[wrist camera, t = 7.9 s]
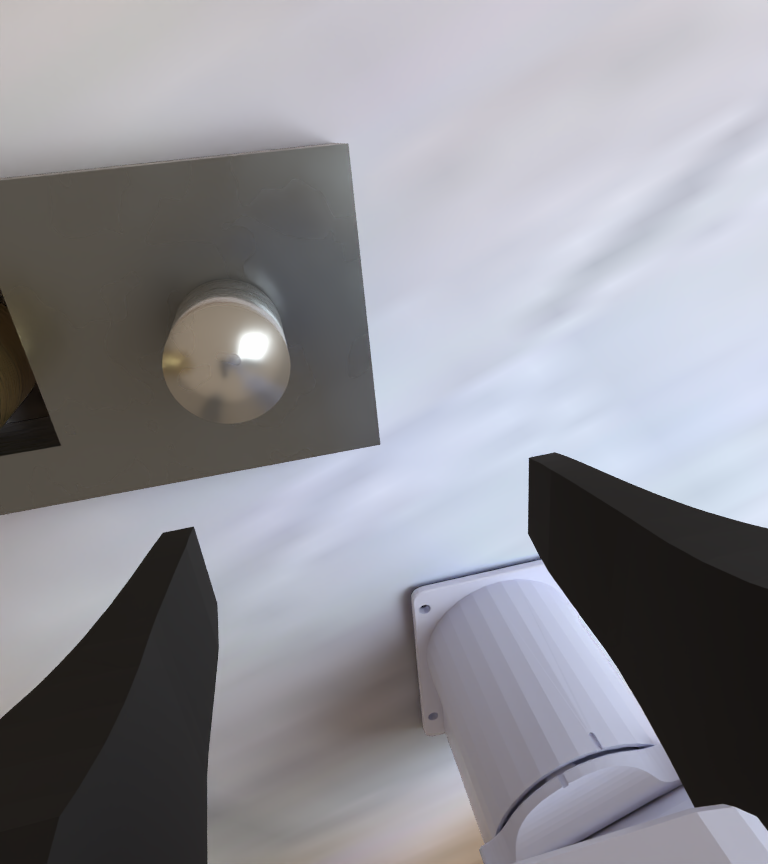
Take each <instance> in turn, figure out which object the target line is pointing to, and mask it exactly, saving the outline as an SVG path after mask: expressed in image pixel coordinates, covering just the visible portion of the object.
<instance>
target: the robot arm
mask: <svg viewBox="0 0 768 864" xmlns="http://www.w3.org/2000/svg"><path fill="white" fill-rule="evenodd" d="M528 534H529V536H530V538H531V540H532V542H533V544H534V546H535V548H536V550H537V552H538V554H539V556H540V558H541V560H537V561H533V562H528V563H524V564H519V565H515V566H510V567H506V568H502V569H497V570H493V571H488V572H484V573H479V574H475V575H471V576H466V577H462V578H457V579H453V580H448V581H444V582H439V583H435V584H431V585H426V586H422V587H419V588H417V589H415V590H414V591H413V593H412V594H411V604H412V615H413V626H414V637H415V648H416V658H417V669H418V680H419V691H420V702H421V713H422V724H423V729H424V732H425V734H426V735H428V736H435V735H439V734H443V733H446V735H447V738H448V741H449V744H450V747H451V750H452V752H453V755H454V758H455V761H456V764H457V767H458V770H459V772H460V775H461V778H462V781H463V784H464V787H465V790H466V792H467V795H468V798H469V801H470V804H471V807H472V810H473V812H474V815H475V818H476V821H477V824H478V827H479V830H480V833H481V835H482V838H483V841H484V843H485V844H484V845H483V846H481V847H480V849H479V851H480V854H481V857H482V860H483V863H484V864H768V528H763V527H759V526H755V525H751V524H747V523H743V522H740V521H736V520H733V519H729V518H726V517H722V516H719V515H715V514H712V513H709V512H705V511H702V510H699V509H696V508H693V507H690V506H687V505H684V504H682V503H679V502H676V501H673V500H671V499H668V498H665V497H662V496H660V495H657V494H655V493H652V492H650V491H647V490H645V489H642V488H640V487H637V486H635V485H632V484H630V483H628V482H625V481H623V480H621V479H618V478H616V477H614V476H611V475H609V474H607V473H604V472H602V471H600V470H597V469H595V468H593V467H591V466H588V465H586V464H584V463H581V462H579V461H577V460H574V459H572V458H569V457H567V456H564V455H561V454H558V453H550V454H545V455H540V456H535V457H531V458H529V502H528ZM423 605H427V606H426V607H423V608H420V607H421V606H423ZM579 615H580V616H581V617H582V619H583V620H584V621H585V623H586V624H587V625H588V627H589V628H590V629H591V631H592V632H593V634H594V635H595V636H596V638H597V639H598V640H599V642H600V643H601V644H602V646H603V647H604V648H605V650H606V651H607V653H608V654H609V656H610V657H611V659H612V660H613V662H614V663H615V665H616V666H617V668H618V669H619V671H620V673H621V674H622V676H623V678H624V679H625V681H626V683H627V685H628V686H629V688H630V689H629V688H628V686H627V685H626V683H625V682H624V681H623V679H622V678H621V676H620V675H619V674H618V672H617V671H616V669H615V668H614V667H613V665H612V664H611V662H610V661H609V660H608V658H607V657H606V655H605V654H604V653H603V651H602V650H601V648H600V647H599V646H598V644H597V643H596V641H595V640H594V639H593V637H592V636H591V634H590V633H589V632H588V630H587V629H586V627H585V626H584V625H583V623H582V622H581V620H580V619H579ZM218 650H219V643H218V612H217V601H216V598H215V595H214V592H213V588H212V585H211V582H210V578H209V575H208V572H207V569H206V565H205V562H204V559H203V555H202V552H201V549H200V545H199V542H198V539H197V536H196V532H195V529H194V527H189V528H185V529H180V530H175V531H170V532H165V533H162V535H161V536H160V538H159V539H158V540H157V542H156V543H155V544H154V546H153V547H152V548H151V550H150V551H149V553H148V554H147V555H146V557H145V558H144V560H143V561H142V563H141V564H140V565H139V567H138V568H137V570H136V571H135V572H134V574H133V575H132V577H131V578H130V579H129V581H128V582H127V584H126V585H125V586H124V588H123V589H122V590H121V592H120V593H119V594H118V596H117V597H116V598H115V600H114V601H113V602H112V604H111V605H110V606H109V607H108V609H107V610H106V611H105V612H104V613H103V615H102V616H101V617H100V618H99V620H98V621H97V622H96V623H95V624H94V626H93V627H92V628H91V629H90V630H89V632H88V633H87V634H86V635H85V636H84V638H83V639H82V640H81V641H80V642H79V643H78V644H77V646H76V647H75V648H74V649H73V650H72V651H71V652H70V653H69V654H68V655H67V656H66V657H65V658H64V660H63V661H62V662H61V663H60V664H59V665H58V666H57V667H56V668H55V669H54V670H53V671H52V672H51V673H50V674H49V675H48V676H47V677H46V678H45V679H44V680H43V681H42V682H41V683H40V684H39V685H38V686H37V687H35V688H34V689H33V690H32V691H31V692H30V693H29V694H28V695H27V696H26V697H24V698H23V699H22V700H21V701H20V702H19V703H18V704H17V705H15V706H14V707H13V708H12V709H11V710H10V711H9V712H8V713H6V714H5V715H4V716H3V717H2V718H1V719H0V864H207V768H208V752H209V742H210V732H211V722H212V712H213V702H214V692H215V682H216V672H217V661H218ZM631 691H632V692H631Z"/></svg>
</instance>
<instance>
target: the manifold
mask: <svg viewBox="0 0 768 864" xmlns="http://www.w3.org/2000/svg"><path fill="white" fill-rule="evenodd" d="M0 289H1V292H2V294H3V297H4V299H5V302H6V304H7V307H8V310H9V312H10V315H11V317H12V320H13V322H14V325H15V328H16V330H17V333H18V335H19V338H20V341H21V343H22V346H23V348H24V351H25V353H26V356H27V359H28V361H29V364H30V366H31V369H32V372H33V374H34V377H35V379H36V382H37V384H38V387H39V390H40V392H41V395H42V397H43V400H44V403H45V405H46V408H47V410H48V413H49V415H50V417H45V418H38V419H32V420H26V421H20V422H14V423H8V424H4V425H3V426H2V428H1V429H0V515H4V514H9V513H14V512H20V511H25V510H30V509H36V508H41V507H47V506H52V505H57V504H63V503H68V502H74V501H79V500H84V499H90V498H95V497H100V496H106V495H111V494H117V493H122V492H127V491H133V490H138V489H144V488H149V487H154V486H160V485H165V484H170V483H176V482H181V481H187V480H192V479H197V478H203V477H208V476H214V475H219V474H224V473H230V472H235V471H240V470H246V469H251V468H257V467H262V466H267V465H273V464H278V463H284V462H289V461H294V460H300V459H305V458H310V457H316V456H321V455H327V454H332V453H337V452H343V451H348V450H354V449H359V448H364V447H370V446H375V445H380V438H379V428H378V419H377V409H376V400H375V391H374V381H373V372H372V363H371V353H370V344H369V334H368V325H367V315H366V306H365V297H364V287H363V278H362V268H361V259H360V250H359V240H358V231H357V221H356V212H355V203H354V193H353V184H352V174H351V165H350V156H349V146H348V144H345V143H331V144H322V145H312V146H303V147H293V148H284V149H274V150H265V151H255V152H246V153H236V154H227V155H217V156H208V157H198V158H189V159H179V160H170V161H160V162H151V163H141V164H132V165H122V166H113V167H104V168H94V169H85V170H75V171H66V172H56V173H47V174H37V175H28V176H18V177H9V178H0Z"/></svg>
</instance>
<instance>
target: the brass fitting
mask: <svg viewBox="0 0 768 864" xmlns="http://www.w3.org/2000/svg"><path fill="white" fill-rule="evenodd" d="M35 383H36V379H35V377H34V374H33V372H32V369H31V366H30V364H29V361H28V359H27V356H26V353H25V351H24V348H23V346H22V343H21V341H20V338H19V335H18V333H17V330H16V328H15V325H14V322H13V320H12V317H11V315H10V312H9V310H8V308H7V307H6V306H5V305H3V304H1V303H0V429H1V428H2V426H3V425H4V424H5V423H6V422H7V420H8V419H9V418H10V417H11V415H12V414H13V413H14V412H15V410H16V409H17V408H18V407H19V405H20V404H21V403H22V402H23V401H24V399H25V398H26V397H27V396H28V394H29V393H30V392H31V390H32V389H33V387H34V386H35Z"/></svg>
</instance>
